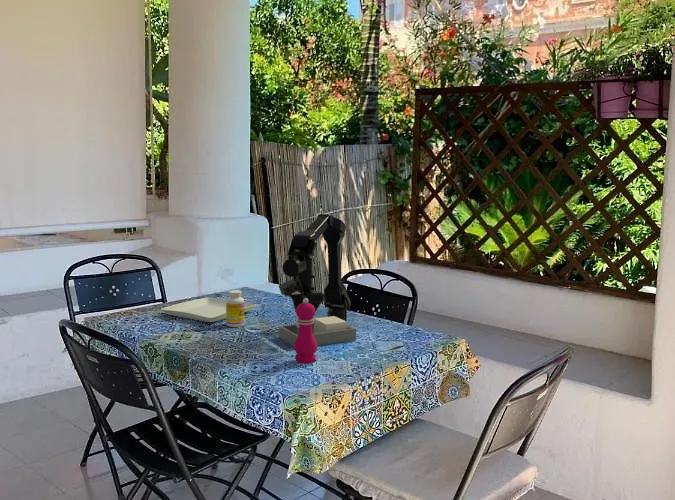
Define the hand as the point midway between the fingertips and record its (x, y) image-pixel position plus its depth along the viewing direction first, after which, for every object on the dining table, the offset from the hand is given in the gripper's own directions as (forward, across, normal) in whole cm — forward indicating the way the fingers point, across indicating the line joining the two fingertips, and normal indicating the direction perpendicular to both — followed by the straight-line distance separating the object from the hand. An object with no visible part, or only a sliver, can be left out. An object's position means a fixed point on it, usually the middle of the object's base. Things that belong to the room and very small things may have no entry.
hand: (303, 317), depth 241 cm
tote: (+9, 0, +5) cm, 10 cm away
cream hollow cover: (+8, 0, +10) cm, 13 cm away
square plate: (+10, -55, -15) cm, 57 cm away
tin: (+8, 0, 0) cm, 8 cm away
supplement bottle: (+9, -34, -12) cm, 37 cm away
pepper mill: (+9, +17, -8) cm, 21 cm away
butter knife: (+10, +22, +18) cm, 30 cm away
